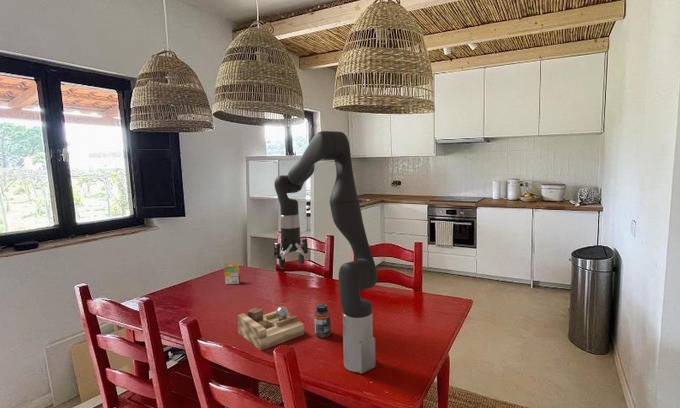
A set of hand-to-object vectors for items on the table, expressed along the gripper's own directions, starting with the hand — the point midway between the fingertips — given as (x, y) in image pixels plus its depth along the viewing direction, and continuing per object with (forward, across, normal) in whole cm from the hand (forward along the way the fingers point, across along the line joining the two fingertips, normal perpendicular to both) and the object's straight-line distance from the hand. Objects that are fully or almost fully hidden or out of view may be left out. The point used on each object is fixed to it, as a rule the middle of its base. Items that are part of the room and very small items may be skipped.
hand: (292, 266), depth 145 cm
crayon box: (+22, +3, +66) cm, 70 cm away
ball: (+17, -7, -2) cm, 18 cm away
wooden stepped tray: (+23, -12, -2) cm, 26 cm away
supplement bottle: (+24, +2, -16) cm, 29 cm away
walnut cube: (+19, -15, +4) cm, 24 cm away
